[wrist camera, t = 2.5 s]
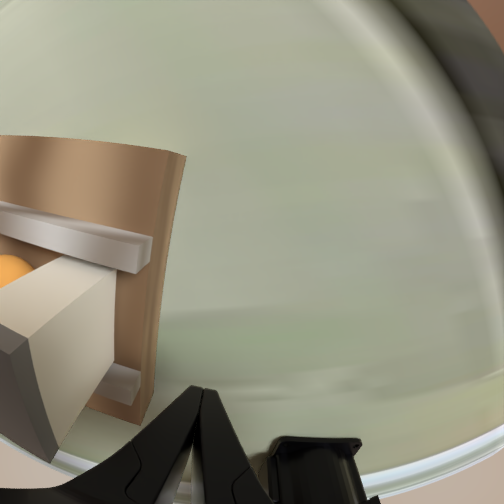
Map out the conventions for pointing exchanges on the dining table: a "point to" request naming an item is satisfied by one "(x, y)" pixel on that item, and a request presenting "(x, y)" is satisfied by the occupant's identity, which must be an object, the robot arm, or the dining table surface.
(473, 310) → the dining table surface
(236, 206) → the dining table surface
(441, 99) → the dining table surface
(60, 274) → the plunger
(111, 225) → the board
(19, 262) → the ball
